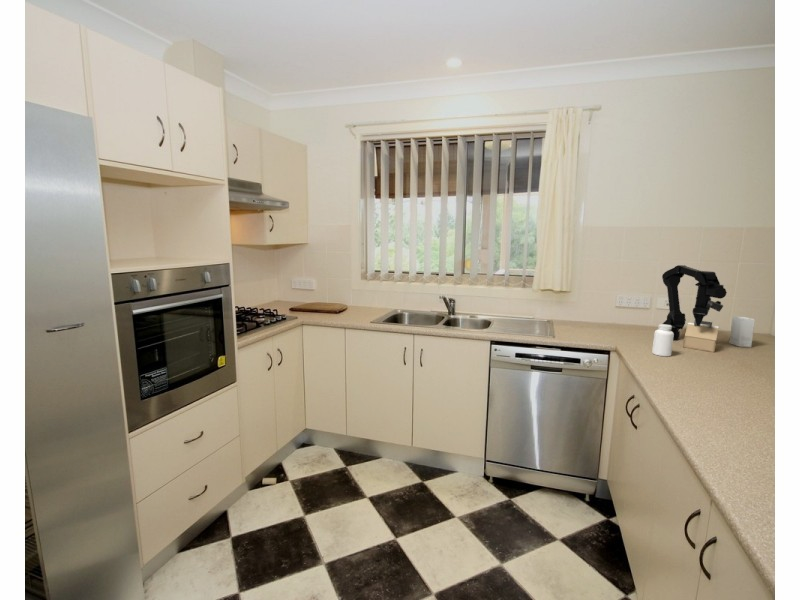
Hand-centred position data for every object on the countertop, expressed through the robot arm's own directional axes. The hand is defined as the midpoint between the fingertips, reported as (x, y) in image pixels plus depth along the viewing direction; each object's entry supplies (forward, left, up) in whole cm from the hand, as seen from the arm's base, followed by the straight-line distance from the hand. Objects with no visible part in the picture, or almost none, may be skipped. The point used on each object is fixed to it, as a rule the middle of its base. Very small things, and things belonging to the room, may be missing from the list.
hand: (699, 324), depth 205 cm
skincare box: (+18, +25, -13) cm, 33 cm away
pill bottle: (-11, -29, -13) cm, 33 cm away
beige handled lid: (+2, +1, -4) cm, 4 cm away
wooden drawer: (+2, +1, -13) cm, 13 cm away
